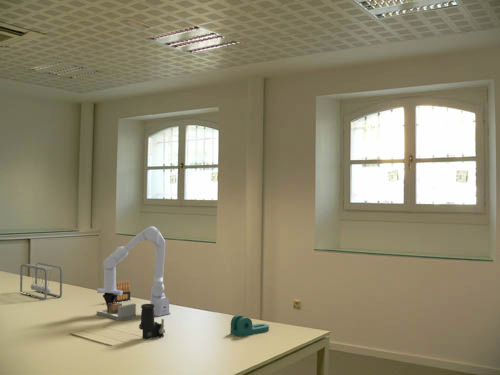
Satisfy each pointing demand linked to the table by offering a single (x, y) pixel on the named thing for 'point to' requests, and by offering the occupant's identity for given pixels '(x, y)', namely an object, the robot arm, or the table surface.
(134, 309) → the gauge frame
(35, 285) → the newton's cradle
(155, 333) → the scope
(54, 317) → the table surface
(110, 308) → the block
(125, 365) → the table surface
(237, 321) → the bracket
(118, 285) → the ammunition clip
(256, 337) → the table surface
